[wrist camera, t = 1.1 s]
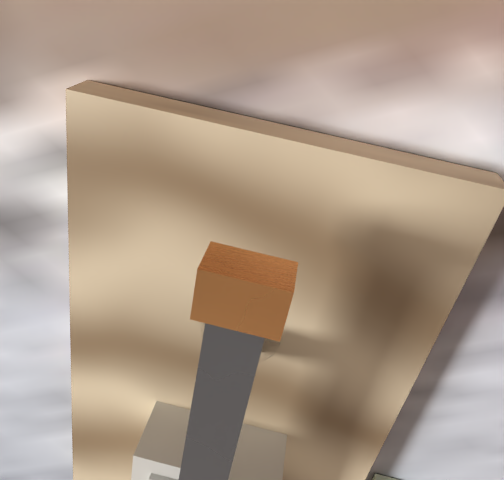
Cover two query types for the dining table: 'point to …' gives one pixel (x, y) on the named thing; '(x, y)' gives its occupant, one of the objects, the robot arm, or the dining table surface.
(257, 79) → the dining table surface
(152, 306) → the board
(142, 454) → the cover
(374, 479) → the mat
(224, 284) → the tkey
